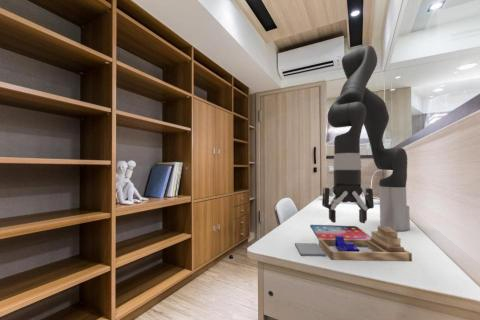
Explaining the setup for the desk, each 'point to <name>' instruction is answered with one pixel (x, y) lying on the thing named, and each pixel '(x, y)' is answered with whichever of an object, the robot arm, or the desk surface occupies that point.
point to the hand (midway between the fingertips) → (347, 222)
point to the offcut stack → (387, 239)
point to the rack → (376, 255)
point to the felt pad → (309, 249)
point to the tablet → (339, 232)
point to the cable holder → (344, 244)
